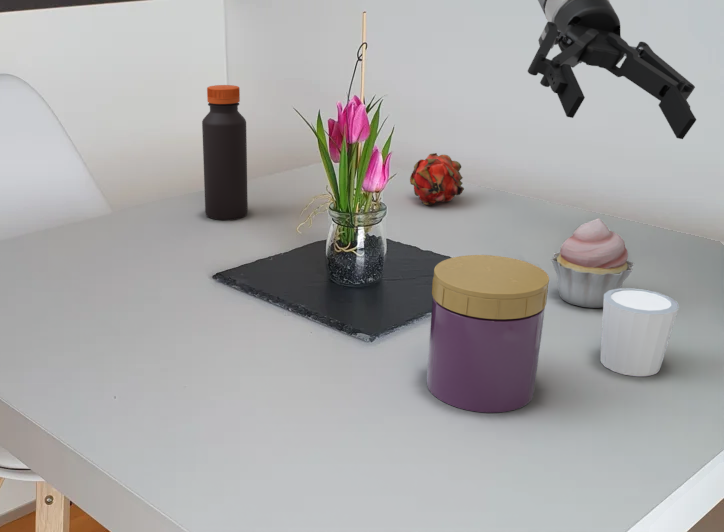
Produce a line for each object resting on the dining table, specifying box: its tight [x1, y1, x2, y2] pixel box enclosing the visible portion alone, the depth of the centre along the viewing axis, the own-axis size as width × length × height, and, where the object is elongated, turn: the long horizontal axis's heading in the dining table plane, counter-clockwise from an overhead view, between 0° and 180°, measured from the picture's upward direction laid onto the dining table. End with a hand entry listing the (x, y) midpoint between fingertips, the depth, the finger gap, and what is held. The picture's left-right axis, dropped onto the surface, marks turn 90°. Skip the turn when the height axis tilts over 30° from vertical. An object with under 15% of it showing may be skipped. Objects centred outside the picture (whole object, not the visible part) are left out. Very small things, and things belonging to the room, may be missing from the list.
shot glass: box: [599, 287, 680, 377], centre depth 83 cm, size 7×7×7 cm
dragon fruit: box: [409, 152, 465, 206], centre depth 140 cm, size 8×8×12 cm
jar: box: [426, 296, 546, 414], centre depth 78 cm, size 10×10×11 cm
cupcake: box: [550, 217, 635, 309], centre depth 99 cm, size 9×9×10 cm
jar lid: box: [431, 254, 550, 319], centre depth 76 cm, size 10×10×2 cm
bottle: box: [201, 84, 249, 221], centre depth 130 cm, size 7×7×20 cm
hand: (631, 118), depth 93 cm, fingers open, 13 cm apart
